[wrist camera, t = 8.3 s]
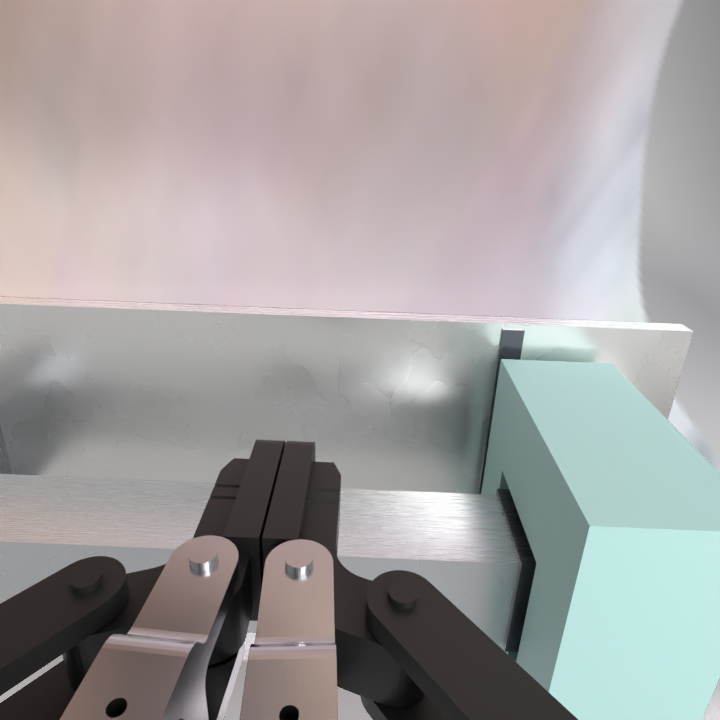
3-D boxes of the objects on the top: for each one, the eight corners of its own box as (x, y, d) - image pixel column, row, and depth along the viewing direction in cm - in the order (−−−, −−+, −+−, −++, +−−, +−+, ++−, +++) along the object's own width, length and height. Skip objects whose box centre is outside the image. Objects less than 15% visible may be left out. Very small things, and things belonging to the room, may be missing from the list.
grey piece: (-83, 293, 21) (-315, 380, 14) (681, 323, 21) (840, 428, 14) (-5, 558, 26) (-146, 720, 19) (608, 585, 26) (697, 760, 19)
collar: (500, 358, 20) (590, 525, 12) (611, 363, 20) (779, 534, 12) (467, 585, 24) (515, 825, 16) (559, 589, 24) (654, 831, 16)
